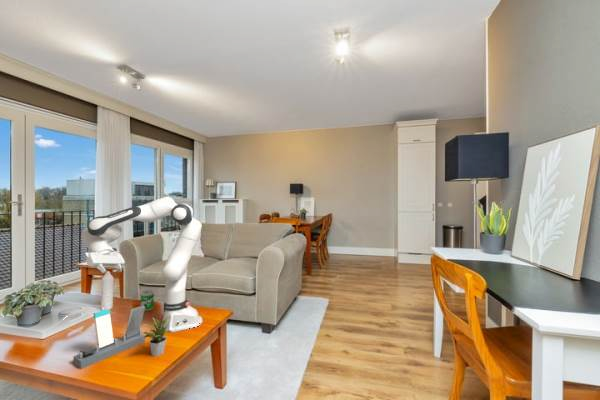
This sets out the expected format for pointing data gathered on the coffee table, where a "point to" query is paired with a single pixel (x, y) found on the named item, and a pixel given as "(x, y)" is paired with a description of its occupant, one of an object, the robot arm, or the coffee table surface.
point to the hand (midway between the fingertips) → (112, 272)
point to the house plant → (157, 337)
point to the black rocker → (88, 350)
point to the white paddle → (103, 328)
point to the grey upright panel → (134, 321)
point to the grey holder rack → (108, 350)
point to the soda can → (147, 300)
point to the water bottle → (107, 291)
